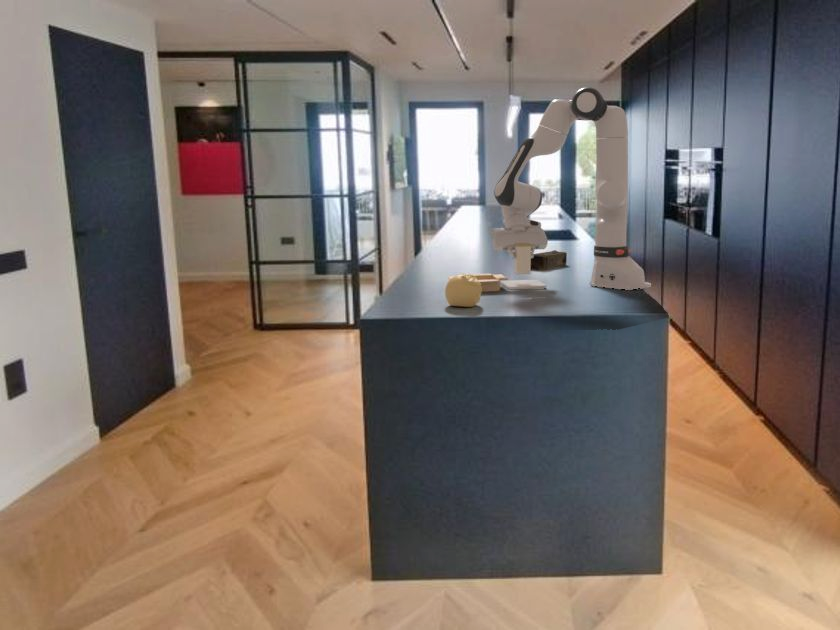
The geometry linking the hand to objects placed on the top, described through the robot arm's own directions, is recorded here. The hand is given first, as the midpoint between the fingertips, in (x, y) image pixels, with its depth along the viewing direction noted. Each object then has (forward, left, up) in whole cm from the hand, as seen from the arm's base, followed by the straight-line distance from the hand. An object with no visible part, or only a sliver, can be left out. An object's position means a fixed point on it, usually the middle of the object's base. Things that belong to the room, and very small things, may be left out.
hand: (522, 257), depth 276 cm
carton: (+6, +17, -11) cm, 21 cm away
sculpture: (-13, +39, -11) cm, 42 cm away
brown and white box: (+1, 0, -6) cm, 6 cm away
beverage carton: (+28, -41, -11) cm, 51 cm away
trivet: (0, 0, -11) cm, 11 cm away
